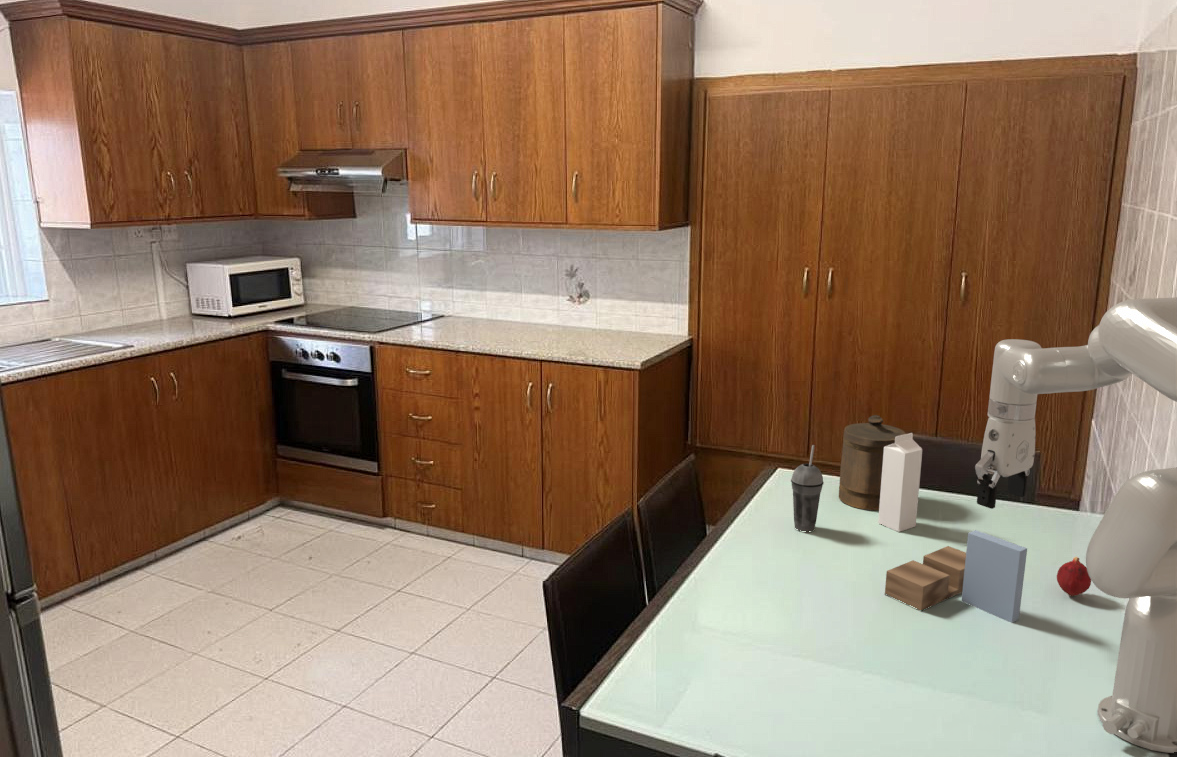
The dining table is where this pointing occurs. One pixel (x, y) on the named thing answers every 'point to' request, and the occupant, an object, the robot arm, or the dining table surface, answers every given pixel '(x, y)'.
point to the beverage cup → (806, 495)
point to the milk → (900, 483)
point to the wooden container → (864, 462)
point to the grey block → (994, 575)
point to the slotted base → (928, 578)
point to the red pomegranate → (1073, 577)
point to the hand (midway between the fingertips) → (1001, 500)
